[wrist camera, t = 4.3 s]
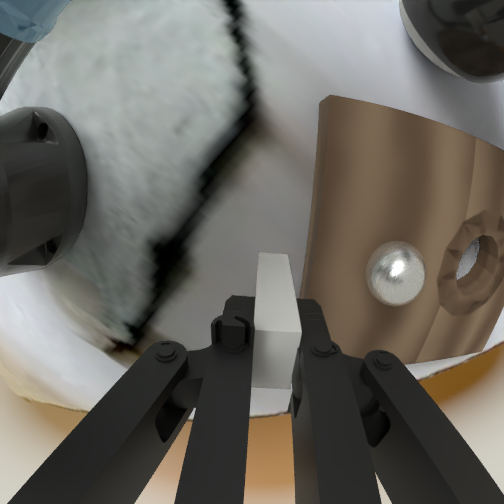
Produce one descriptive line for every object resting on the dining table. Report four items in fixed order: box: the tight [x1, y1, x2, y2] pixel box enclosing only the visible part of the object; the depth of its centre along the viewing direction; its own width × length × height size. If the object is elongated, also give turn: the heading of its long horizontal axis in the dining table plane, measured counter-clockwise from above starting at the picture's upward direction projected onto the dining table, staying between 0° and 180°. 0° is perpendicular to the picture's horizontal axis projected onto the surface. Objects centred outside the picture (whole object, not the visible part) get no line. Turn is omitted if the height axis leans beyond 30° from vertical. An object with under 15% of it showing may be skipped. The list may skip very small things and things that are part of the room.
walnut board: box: [299, 95, 504, 364], centre depth 18 cm, size 22×20×3 cm
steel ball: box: [366, 241, 427, 306], centre depth 15 cm, size 4×4×4 cm
